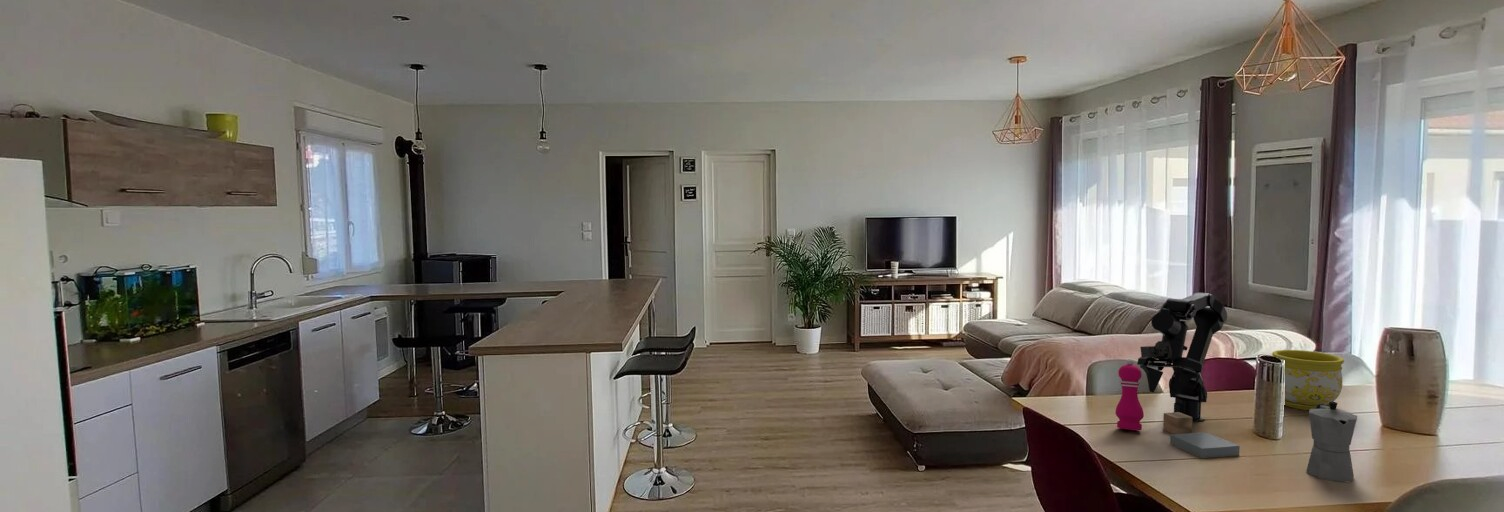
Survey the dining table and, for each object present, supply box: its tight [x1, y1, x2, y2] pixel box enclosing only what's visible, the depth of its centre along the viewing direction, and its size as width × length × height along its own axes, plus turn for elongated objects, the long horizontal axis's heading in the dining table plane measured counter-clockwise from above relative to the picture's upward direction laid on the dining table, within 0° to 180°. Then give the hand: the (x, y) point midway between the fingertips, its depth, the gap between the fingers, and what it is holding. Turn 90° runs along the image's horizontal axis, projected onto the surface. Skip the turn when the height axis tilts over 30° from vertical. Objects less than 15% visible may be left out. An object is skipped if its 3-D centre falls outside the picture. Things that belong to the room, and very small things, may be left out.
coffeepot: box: [1305, 401, 1358, 483], centre depth 168 cm, size 15×9×18 cm, turn 159°
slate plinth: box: [1169, 431, 1241, 459], centre depth 186 cm, size 11×11×2 cm
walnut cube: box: [1162, 411, 1193, 435], centre depth 200 cm, size 5×5×5 cm
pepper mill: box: [1114, 358, 1145, 431], centre depth 203 cm, size 7×7×20 cm
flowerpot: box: [1271, 349, 1345, 411], centre depth 224 cm, size 18×18×16 cm
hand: (1163, 393), depth 200 cm, fingers open, 9 cm apart
